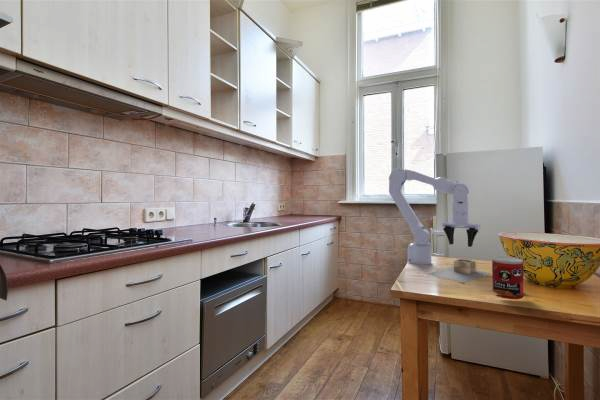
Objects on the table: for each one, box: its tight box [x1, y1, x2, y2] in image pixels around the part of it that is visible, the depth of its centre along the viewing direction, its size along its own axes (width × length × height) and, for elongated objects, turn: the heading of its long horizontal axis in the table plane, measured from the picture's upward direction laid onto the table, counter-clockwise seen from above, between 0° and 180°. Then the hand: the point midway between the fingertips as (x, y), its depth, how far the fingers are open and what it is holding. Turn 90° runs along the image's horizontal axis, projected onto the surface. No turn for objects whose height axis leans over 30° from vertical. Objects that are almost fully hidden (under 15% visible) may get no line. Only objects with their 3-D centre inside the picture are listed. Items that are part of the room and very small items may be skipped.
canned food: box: [491, 256, 524, 300], centre depth 90 cm, size 8×8×11 cm
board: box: [426, 265, 491, 283], centre depth 110 cm, size 14×20×1 cm
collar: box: [453, 258, 477, 274], centre depth 113 cm, size 6×6×4 cm
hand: (460, 245), depth 123 cm, fingers open, 7 cm apart
